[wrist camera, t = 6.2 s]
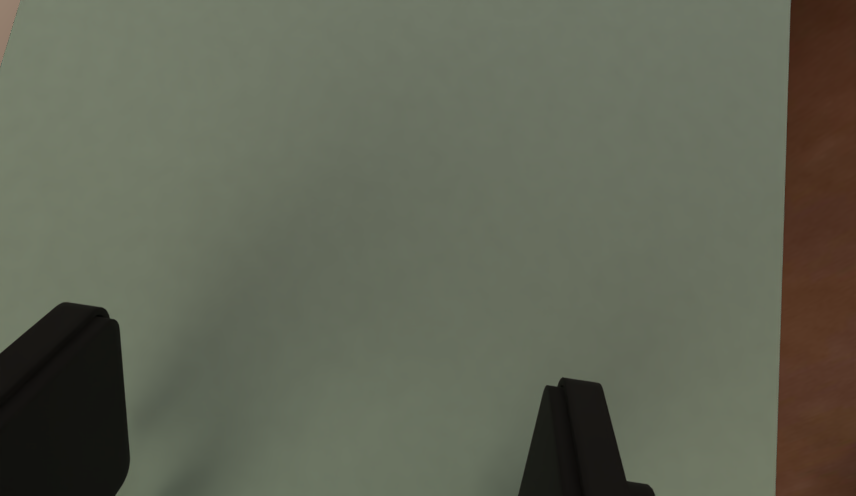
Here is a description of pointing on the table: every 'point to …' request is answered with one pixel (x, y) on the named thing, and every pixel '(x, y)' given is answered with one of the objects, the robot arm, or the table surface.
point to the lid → (407, 232)
